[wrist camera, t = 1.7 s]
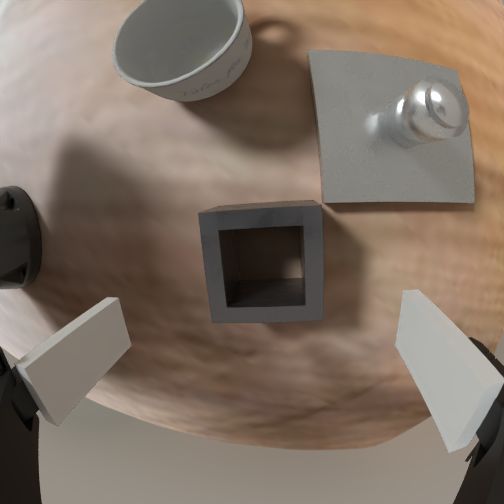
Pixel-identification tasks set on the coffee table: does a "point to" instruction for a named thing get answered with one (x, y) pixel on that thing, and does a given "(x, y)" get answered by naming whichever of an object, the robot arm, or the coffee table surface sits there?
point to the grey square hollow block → (262, 291)
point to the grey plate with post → (390, 129)
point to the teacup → (183, 47)
